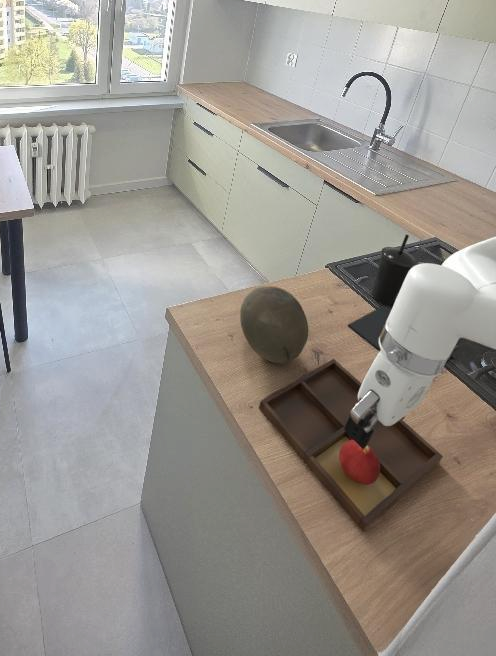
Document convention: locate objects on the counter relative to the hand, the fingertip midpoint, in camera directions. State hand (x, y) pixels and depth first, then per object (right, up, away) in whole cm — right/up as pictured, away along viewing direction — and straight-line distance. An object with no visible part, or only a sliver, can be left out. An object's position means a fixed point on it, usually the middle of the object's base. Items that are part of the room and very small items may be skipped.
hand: (374, 424), depth 65 cm
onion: (0, -12, +5) cm, 13 cm away
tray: (+2, -10, +12) cm, 16 cm away
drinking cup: (+30, +3, +44) cm, 54 cm away
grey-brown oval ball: (-6, -2, +29) cm, 29 cm away
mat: (+26, -2, +32) cm, 41 cm away
